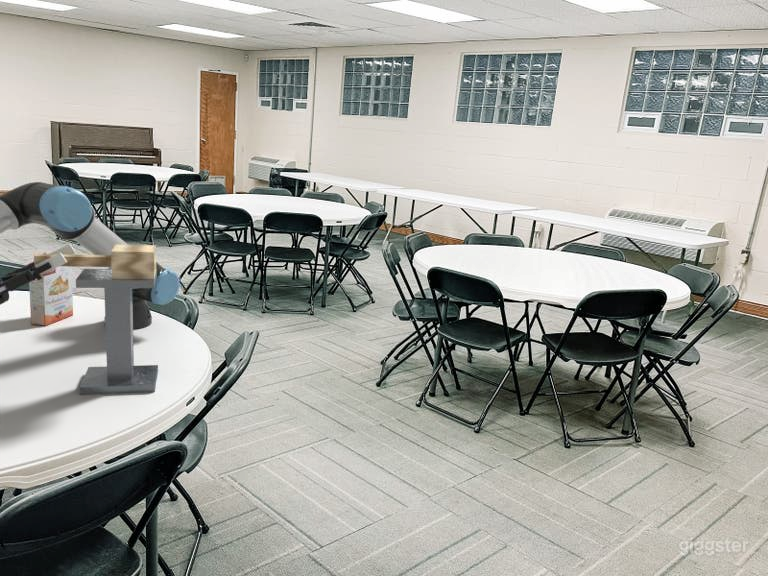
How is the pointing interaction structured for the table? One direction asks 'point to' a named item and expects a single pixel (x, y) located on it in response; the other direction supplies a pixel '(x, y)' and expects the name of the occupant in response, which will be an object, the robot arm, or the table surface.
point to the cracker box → (51, 296)
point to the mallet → (116, 261)
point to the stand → (117, 337)
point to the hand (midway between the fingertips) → (68, 252)
